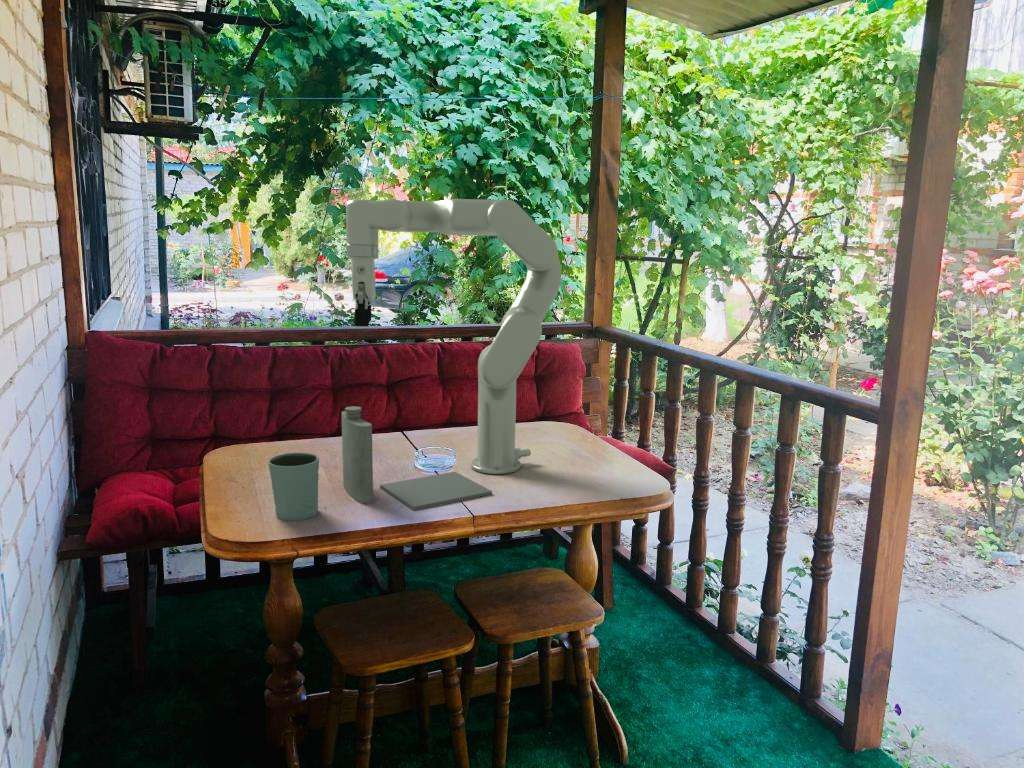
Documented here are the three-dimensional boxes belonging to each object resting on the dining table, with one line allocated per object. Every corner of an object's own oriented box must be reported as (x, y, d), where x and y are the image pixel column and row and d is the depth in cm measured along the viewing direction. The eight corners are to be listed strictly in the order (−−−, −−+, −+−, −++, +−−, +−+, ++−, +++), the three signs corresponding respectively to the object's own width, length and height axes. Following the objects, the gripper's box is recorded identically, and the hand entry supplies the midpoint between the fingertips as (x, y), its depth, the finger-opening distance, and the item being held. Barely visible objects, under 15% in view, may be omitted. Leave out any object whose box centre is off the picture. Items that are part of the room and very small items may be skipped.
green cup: (328, 516, 165) (326, 461, 163) (280, 526, 159) (278, 469, 157) (309, 502, 173) (308, 449, 171) (264, 510, 167) (261, 456, 165)
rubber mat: (455, 474, 194) (455, 471, 194) (491, 494, 180) (491, 491, 180) (380, 488, 183) (380, 484, 183) (413, 510, 169) (413, 506, 169)
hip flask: (375, 502, 174) (373, 414, 170) (357, 505, 172) (355, 415, 168) (354, 481, 188) (353, 399, 184) (337, 483, 186) (335, 400, 182)
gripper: (376, 254, 180) (377, 328, 183) (380, 251, 197) (380, 319, 200) (343, 253, 179) (344, 328, 183) (349, 251, 196) (350, 319, 199)
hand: (363, 323), depth 191 cm, fingers open, 9 cm apart
